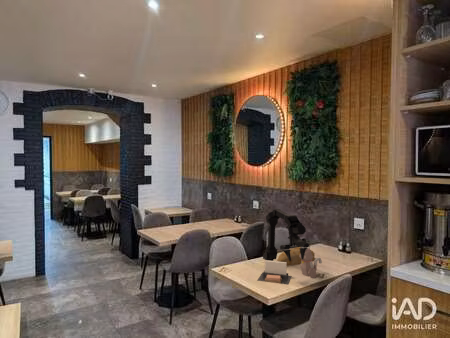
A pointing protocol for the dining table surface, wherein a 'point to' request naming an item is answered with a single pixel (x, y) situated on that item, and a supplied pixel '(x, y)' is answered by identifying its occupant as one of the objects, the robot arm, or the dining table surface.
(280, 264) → the beige rectangular panel
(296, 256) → the bread
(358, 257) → the dining table surface
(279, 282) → the offcut lower
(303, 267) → the toy
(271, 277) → the offcut upper
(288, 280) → the rack
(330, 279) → the dining table surface
